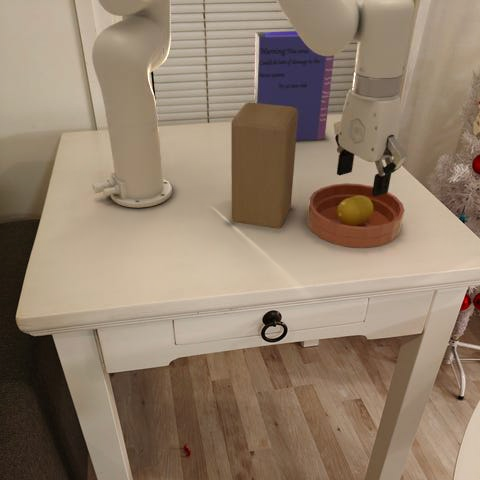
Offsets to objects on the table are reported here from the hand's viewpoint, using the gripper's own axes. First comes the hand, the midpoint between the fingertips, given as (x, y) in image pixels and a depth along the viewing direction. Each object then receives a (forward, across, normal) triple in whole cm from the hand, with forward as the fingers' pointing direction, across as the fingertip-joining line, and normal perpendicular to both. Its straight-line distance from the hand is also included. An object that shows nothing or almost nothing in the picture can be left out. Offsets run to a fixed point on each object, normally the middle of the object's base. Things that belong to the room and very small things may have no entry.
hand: (361, 183), depth 97 cm
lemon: (+8, 0, 0) cm, 8 cm away
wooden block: (+9, -12, -13) cm, 20 cm away
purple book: (+9, -42, +14) cm, 45 cm away
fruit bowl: (+9, 0, 0) cm, 9 cm away
